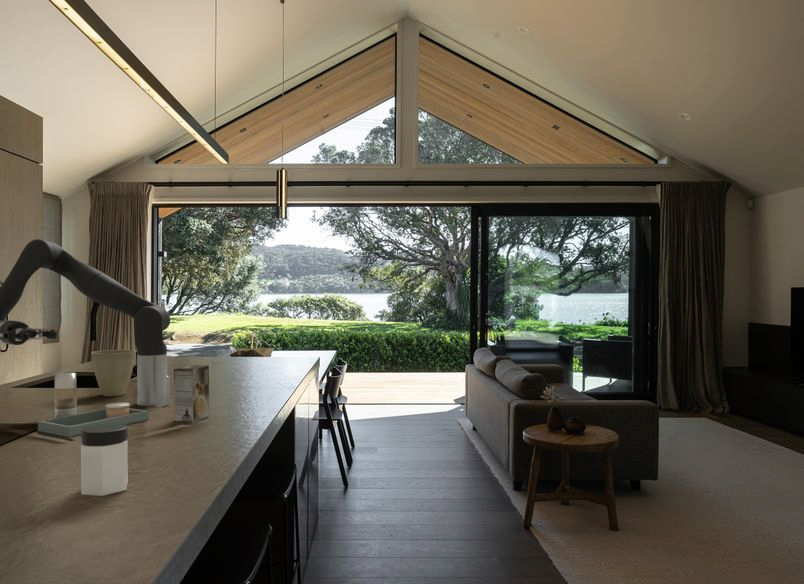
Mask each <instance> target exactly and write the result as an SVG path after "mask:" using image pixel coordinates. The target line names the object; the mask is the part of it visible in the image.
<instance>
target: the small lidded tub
mask: <svg viewBox="0 0 804 584" xmlns="http://www.w3.org/2000/svg"><path fill="white" fill-rule="evenodd" d="M130 406H131V403H130V402H125V401H124V402H123V401H122V402H112V403H111V402H110V403H107V404H105V409H106V419H109V418H114V417H119V416H124V415H128V414H129V408H130Z"/></svg>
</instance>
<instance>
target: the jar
mask: <svg viewBox="0 0 804 584" xmlns="http://www.w3.org/2000/svg"><path fill="white" fill-rule="evenodd" d="M128 431H129V429H128V426H127V425H124V424H101V425H94V426H90V427H86V428H84V429H83V430H82V434H81V435H80V437H81V445H80V489H81V490H80V494H81V496H93V497H94V496H95V497H105V496H108V495H112V494H118V493H120V492H125V491H127V486H128V482H129V469H128V468H129V465H128V464H129V463H128V461H129V460H128V459H129V455H128V454H129V453H128V451H129V449H128V448H129V447H128V445H129V444H128V443H129V441H128V440H129V438H128V437H129V436H128V435H129V434H128Z"/></svg>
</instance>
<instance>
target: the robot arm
mask: <svg viewBox="0 0 804 584" xmlns="http://www.w3.org/2000/svg"><path fill="white" fill-rule="evenodd" d="M40 268H41V269H47V270H49V271H52V272H54V273H56V274H58V275H60V276H62V277H64V278H65V279H67V280H68V281H69V282H70V283H71V284H72V285H73V286H74V288H76V289H77V290H78V291H79V292H80V293H81V294H82V295H84V296H86V297H87V298H89V299H91V300H92V301H94V302H96V303H97V304H100V305H102V306H104V307H106V308H110V309H111V310H112V309H113V310H114V311H115V310H116V311H117V312H121V313H123V314H125V315H128V316H129V317H130V318H132V319H133V335H134V336H133V338H134V345H135V350H136V367H137V368H136V369H137V370H136V373H137V374H136V375H137V376H136V389H137V390H136V391H137V394H136V396H137V397H136V399H137V400H136V403H137V406H142V407H156V408H157V407H158V408H159V407H160V408H162V407H166V406H168V405H170V403H171V401H170V398H171V397H170V395H171V394H170V393H171V392H170V386H171V385H170V376H169V375H168V354H167V351H168V346H167V345H166V344H165V342H164V334H163V333H164V331H165V330H167V329H168V328H169V326H170V324H171V316H170V314H169V312H168V311H167V310H166V309H165V308H164V307H163V306H160V305H158V304H156V303H153V302H152V301H149V300H147V299H145V298H143V297H141V296H140V295H138V294H136V293H134V292H133V291H132V290H130V289H129V288H128V287H126V286H124V285H123V284H121V283H120V282H119V281H117V280H115V279H114V278H112V277H111V276H109V275H107V274H105V273H104V272H102V271H101V270H99V269H96V268H95V267H94V266H91V265H89V264H87V263H85V262H83V261H81V260H79V259H77V257H75V256H73V254H71V253H69V252H68V251H67V250H66V249H64V248H63V247H62V246H61V245H59V244H58V243H55V242H53V241H51V240H47V239H41V238H37V239H36V238H35V239H32V240H31V241H29V242H28V243H27V244H26V245H25V246H24V247H23V249H22V251H21V253H20V255H19V257H18V258H17V260H16V262H15V263H14V265H13V267H12V269H11V270H10V272H9V274H8V275H7V277H6V278H5V279H4V281H3V282H2V283H1V286H0V343H1V344H4V345H11V346H20V345H23V344H25V343H26V342H27V341H31V340H34V341H35V340H37V341H38V340H39V341H40V340H42V339H47V340H48V339H50V340H51V339H52V340H54V339H57V334H58V333H57V332H56V331H55V329H49V328H42V327H41V328H40V327H39V328H37V327H34V328H33V327H30V326H29V325H28V324H27V323H26V322H24V321H19V320H10V319H7V318H8V315H9V314H10V312H12V310H13V309H14V308H15V307H16V305H17V304H18V303H19V301H20V299H21V298H22V296H23V293H24V291H25V288H26V285H27V284H28V282H29V280H30V279H31V278H32V276H33V275H34V274H35V273H36V272H37V271H38V270H39V269H40ZM37 336H38V337H37Z"/></svg>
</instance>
